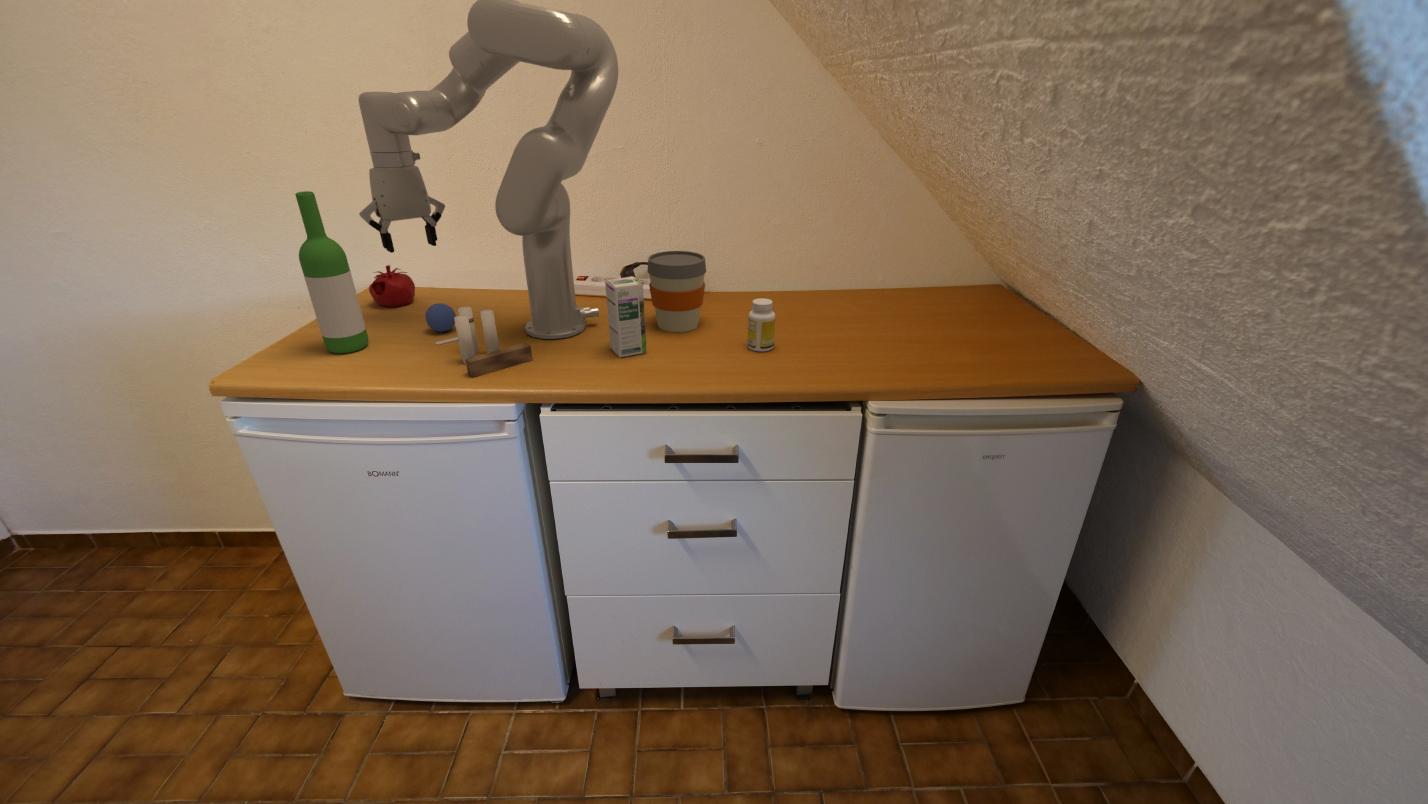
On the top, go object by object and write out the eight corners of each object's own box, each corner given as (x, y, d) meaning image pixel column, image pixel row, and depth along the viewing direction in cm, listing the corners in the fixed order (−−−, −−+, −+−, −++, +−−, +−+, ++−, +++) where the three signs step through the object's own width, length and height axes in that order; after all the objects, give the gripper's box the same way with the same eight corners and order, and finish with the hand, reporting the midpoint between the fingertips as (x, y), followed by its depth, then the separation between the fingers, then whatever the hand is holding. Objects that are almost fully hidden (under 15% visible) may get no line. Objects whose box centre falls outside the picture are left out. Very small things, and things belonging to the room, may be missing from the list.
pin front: (478, 348, 126) (470, 305, 122) (480, 352, 124) (472, 309, 120) (465, 350, 125) (457, 307, 121) (467, 355, 123) (458, 311, 119)
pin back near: (499, 351, 125) (492, 308, 120) (501, 356, 123) (494, 312, 118) (486, 353, 124) (479, 310, 119) (488, 358, 122) (481, 314, 118)
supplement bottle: (776, 344, 129) (779, 298, 125) (769, 354, 125) (772, 307, 120) (751, 340, 131) (753, 295, 126) (744, 350, 126) (745, 304, 122)
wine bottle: (340, 358, 121) (293, 198, 107) (318, 349, 125) (270, 193, 111) (378, 345, 127) (338, 191, 113) (355, 337, 130) (314, 187, 116)
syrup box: (619, 358, 122) (615, 286, 115) (609, 348, 127) (604, 278, 120) (646, 353, 125) (643, 282, 118) (636, 343, 129) (632, 274, 122)
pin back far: (475, 358, 122) (466, 314, 117) (476, 362, 120) (468, 318, 116) (462, 360, 121) (453, 316, 116) (463, 365, 119) (455, 320, 115)
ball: (456, 324, 138) (451, 298, 135) (460, 333, 133) (454, 306, 130) (427, 328, 135) (421, 302, 133) (429, 337, 131) (423, 310, 128)
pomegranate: (413, 295, 156) (406, 257, 152) (421, 305, 149) (414, 267, 145) (369, 300, 151) (361, 262, 147) (375, 312, 144) (366, 272, 140)
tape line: (473, 334, 133) (473, 333, 133) (475, 335, 132) (475, 334, 132) (435, 343, 128) (435, 342, 128) (437, 345, 127) (437, 344, 127)
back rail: (527, 356, 122) (525, 342, 121) (532, 360, 121) (530, 345, 120) (468, 374, 115) (465, 359, 114) (472, 377, 114) (469, 362, 113)
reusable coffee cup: (673, 340, 131) (671, 269, 124) (638, 323, 139) (635, 257, 132) (717, 326, 138) (718, 259, 131) (682, 311, 147) (681, 247, 140)
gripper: (430, 156, 133) (445, 238, 141) (340, 162, 122) (362, 251, 130) (443, 159, 128) (459, 245, 136) (351, 166, 117) (373, 258, 125)
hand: (411, 247), depth 133 cm, fingers open, 8 cm apart
